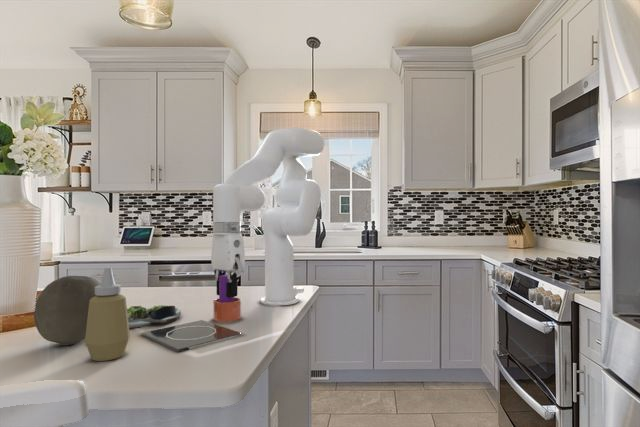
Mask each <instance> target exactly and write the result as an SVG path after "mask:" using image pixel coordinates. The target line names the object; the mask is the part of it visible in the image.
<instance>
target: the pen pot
mask: <svg viewBox="0 0 640 427" xmlns="http://www.w3.org/2000/svg"><path fill="white" fill-rule="evenodd" d="M212 301H213V302H212V303H213V304H212V305H213V306H212V307H213V308H212V312H213V313H212V315H213V316H212V318H213V321H215V322H220V323H229V322H235V321H238V320H241V319H242V299H241V297H236V296H235V297H234V302H219V297H218V298H215V299H213V300H212Z"/></svg>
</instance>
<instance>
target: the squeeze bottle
mask: <svg viewBox="0 0 640 427" xmlns="http://www.w3.org/2000/svg"><path fill="white" fill-rule="evenodd" d="M100 283H101V285H99V286H96V287H95V295H97V296H95V297H93V298H92V299H91V300H89V309H88V318H87V327H86V336H85V339H84V343H85V346H86V349H87V351H88V353H89V356H90V358H91V360H92V361H96V362H103V361H111V360H116V359H119V358H121V357H123V356H124V354H125V352H126V348H127V346H128V343H129V340H130V337H131V334H130V328H129V323H128V314H127V309H128V305H127V297H126V296H125V295H124V294H122V285H121V284H120V283H119V284H118V283H116V282H115V277H114V273H113V269H112V267H110V266H108V267H104V269H103V274H102V277H101V281H100Z"/></svg>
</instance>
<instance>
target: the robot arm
mask: <svg viewBox="0 0 640 427" xmlns="http://www.w3.org/2000/svg"><path fill="white" fill-rule="evenodd" d="M324 148H325V139H324V137H323V135H322V134H321V133H320V132H319V131H317V130H314V129H308V128H303V127H287V128H280V129H279V128H278V129H273V130H271V131H270V132H268V133H267V134H266V136H265V137H264V139H263V140H262V142H261V144H260V145H259V147H258V149H257V150H256V152H255V154H254V155H253V156H252V158H251V159H249V160H247V161H245V162H244V163H243V164H241V165H240V166H239V167H237V168H236V169H234V170H233V171H232V172H231V173H230V174H228V176H227V177H226V179H225V180H224V181H223V183H218V184H215V185H214V187H213V189H212V242H211V243H212V244H211V254H210V255H211V260H210V261H211V267H210V268H211V270H212V271H213V273H214V276H215V278H214V279H215V281H216V296H219V276H220V275H227V278H228V282H227V283H226V297H228V298H229V297H235V298H236V297H238V283H239V281H240V277H241V276H242V275H243V274H244V273H245V272H244V269H245V267H246V255H245V244H244V242H245V241H244V238H243V237H244V236H243V234H242V212H256V211H259V210H260V209H261V208H263V206H264V205H265V202H266V194H265V192H264V190H262V189H261V188H260V187H259V186H257V185H254V184H257V183H259V182H262V181H264V180H267V179H269V178H270V177H272V176H274V175H275V174H276V173H277V171H278V169H279V168H280V165H281V164H282V165H283V170H282V174H281V177H280V180H279V183H278V185H277V188H276V191H275V195H274V200H275V203H276V204H277V205H278V206H274V207H273V206H272V207H270V208H268V209H266V210H265V211H264V212H263V214H262V217H261V227H262V231H263V238H264V296H263V297H261V298H260V303H261V304H264V305H271V306H291V305H295V304H297V303H299V297H298V296H297V295H298V294H303V293H304V292H305V289H304V287H302V286H301V287H300V286H299V287H297V286H295V283H294V282H295V280H294V279H295V278H294V277H295V273H294V270H295V268H294V265H295V264H294V262H295V260H294V259H295V258H294V257H295V256H294V254H295V252H294V250H295V249H294V246H293V243H292V241H291V239H290V237H303V236H307V235H309V234H310V233H311V232H312V230H313V227H314V224H315V221H316V218H317V214H318V211H319V208H320V204H321V200H322V190H321V186H320V185H319V183H318V182H317V181H315V180H314V179H307V176H308V171H307V169H306V167H305V165H304V164H303V162H301V160H300V158H304V157H305V158H306V157H315V156H319V155H321V154H322V152H323V151H324ZM231 275H232V276H231Z"/></svg>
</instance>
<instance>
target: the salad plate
mask: <svg viewBox="0 0 640 427" xmlns="http://www.w3.org/2000/svg"><path fill="white" fill-rule="evenodd" d="M127 314H128V323H129V329H135V328H139V329H140V327H151V326H155V327H156V326H162V325H163V326H164V325H168V324H171V323H174V322H177V321H178V319H179V318H180V315H181V309H180V308H179V307H176V305H166V304H164V305H163V304H162V305H161V304H159V305H154V306H152V307H150V308H146V307H144V306H142V305H131V306H129V308H127Z"/></svg>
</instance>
